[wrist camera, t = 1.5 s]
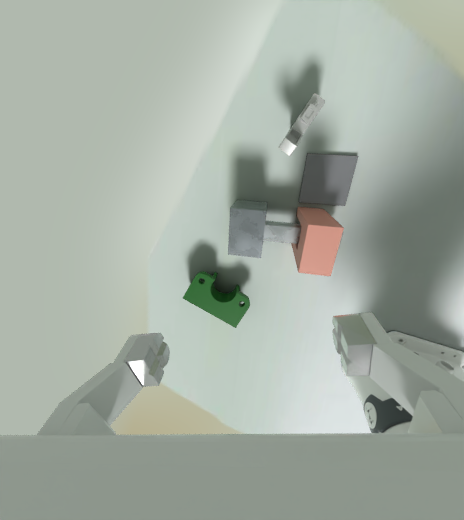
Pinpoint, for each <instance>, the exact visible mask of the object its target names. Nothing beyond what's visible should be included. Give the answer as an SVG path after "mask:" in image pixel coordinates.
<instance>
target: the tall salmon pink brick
mask: <svg viewBox="0 0 464 520" xmlns="http://www.w3.org/2000/svg"><path fill="white" fill-rule="evenodd" d="M297 218H298V220H299V222H300V224H301V226H302V228H301V234H300V239H299V244H295V243H291V244H292V248H293V252H294V256H295V260H296V264H297V268H298V272H299V273H307V274H315V275H324V276H331V273H332V269H333V265H334V262H335V258H336V254H337V251H338V247H339V244H340V240H341V236H342V233H343V229H344V228H343V227H342V226H341V225H340V224H339V223H338V222H337V221H336V220H335V219H334V218H333V217H332V216H331V215H329V214H328V213H327V212H326V211H325V210H324V209H320V208H308V207H298V209H297Z"/></svg>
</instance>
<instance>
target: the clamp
mask: <svg viewBox="0 0 464 520" xmlns="http://www.w3.org/2000/svg"><path fill="white" fill-rule="evenodd" d="M216 276H217V273H216V272H215V273H214V275H213V276H212V275H210V274H208V273H206V272H199V273H198V274H197V275H196V276H195V278H194V279H193V281H192V283H191V285H190V286H189V288H188V290H187V291H186V293H185V295H184V297H183V299H185V300H187V301H189V302H190V303H192V304H194V305H196V306H198V307H199V308H201V309H203V310H205V311H206V312H208V313H210V314H212V315H214V316H215V317H217V318H219V319H221V320H223V321H224V322H226V323H228V324H230V325H231V326H233V327H235V328H236V326H237V325H238V323H239V322H240V320H241V319H242V317H243V316H244V314H245V313H246V311H247V310H248V308H249V306H250V302H249V298H248V297H247V296H246V295H245V294H243V293H241V292H239V285H237V286H236V288H235V289H234V290H233V291H232V292H230V293H221V292H219V291H217V290H216V288H215V287H214V283H213V282H214V281H215V279H216ZM200 278H203V279H204V280H205V281H204V282H202V281H200ZM240 301H243V302H244V303H243V304H240V303H239V302H240Z"/></svg>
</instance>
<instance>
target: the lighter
mask: <svg viewBox="0 0 464 520" xmlns="http://www.w3.org/2000/svg"><path fill="white" fill-rule="evenodd" d="M324 104H325V100H324V99H322V98H321V97H320V96H319V95H317V94H316V93H315V94H313V95H312V97H311V98H310V100H309V101H308V103H307V104H306V106H305V107H304V109H303V111H302V112H301V114H300V115H299V117H298V118H297V120H296V121H295V123H294V124H293V126H292V127H291V129H290V130H289V132H288V134H287V135H286V137H285V138H284V140H283V141H282V143H281V144H280V146H279V149H281V150H282V151H283V152H285V153H286V154H288V155H289V156H290V155H291V154H292V153H293V151H294V150H295V148H296V147H297V146H298V144H299V142H300V140H301V138H302V136H303V134H304V133H305V131H306V130H307V128H308V127H309V125H310V124H311V122H312V121H313V120H314V118H315V117H316V115H317V114H318V112H319V111H320V109H321V108H322V106H323V105H324Z"/></svg>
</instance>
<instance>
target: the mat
mask: <svg viewBox="0 0 464 520" xmlns="http://www.w3.org/2000/svg"><path fill="white" fill-rule="evenodd" d="M357 159H358V156H344V155H326V154H307V158H306V164H305V170H304V175H303V181H302V187H301V192H300V198H299V202H304V203H316V204H328V205H341V206H345V204H346V201H347V197H348V193H349V189H350V186H351V182H352V178H353V174H354V171H355V167H356V163H357Z"/></svg>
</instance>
